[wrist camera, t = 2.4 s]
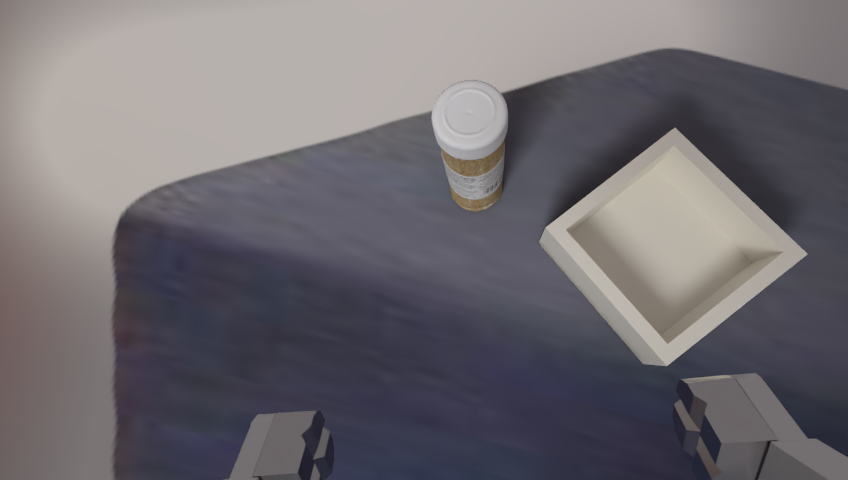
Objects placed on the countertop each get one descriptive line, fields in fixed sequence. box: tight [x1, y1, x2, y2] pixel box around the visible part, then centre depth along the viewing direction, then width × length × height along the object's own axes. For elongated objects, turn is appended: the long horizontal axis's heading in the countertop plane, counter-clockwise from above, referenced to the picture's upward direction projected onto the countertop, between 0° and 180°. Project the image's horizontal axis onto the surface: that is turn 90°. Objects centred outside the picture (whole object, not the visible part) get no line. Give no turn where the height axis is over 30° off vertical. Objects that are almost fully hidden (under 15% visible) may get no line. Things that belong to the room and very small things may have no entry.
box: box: [539, 128, 807, 366], centre depth 35 cm, size 12×12×5 cm
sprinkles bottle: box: [432, 80, 508, 211], centre depth 34 cm, size 5×5×13 cm
